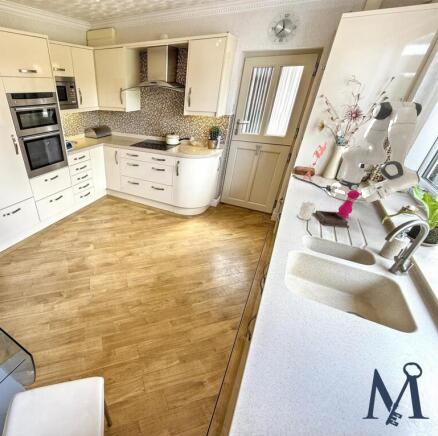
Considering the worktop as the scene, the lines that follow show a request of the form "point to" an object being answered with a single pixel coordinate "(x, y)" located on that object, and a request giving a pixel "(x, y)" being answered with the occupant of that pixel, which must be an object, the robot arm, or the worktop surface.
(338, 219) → the dock pad
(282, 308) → the worktop surface
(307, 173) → the figurine
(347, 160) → the robot arm
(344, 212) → the pepper mill
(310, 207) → the white cup
